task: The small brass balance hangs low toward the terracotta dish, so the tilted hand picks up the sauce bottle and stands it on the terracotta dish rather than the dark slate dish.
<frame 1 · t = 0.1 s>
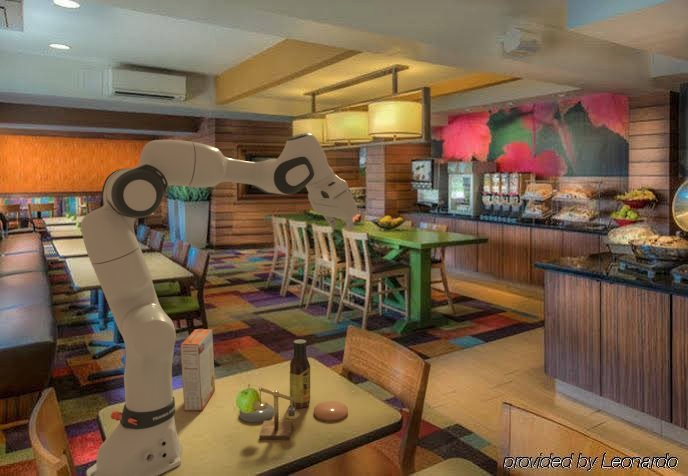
hand: (342, 227, 153), 54 cm above the table, tool tilted 30°, fingers open, 8 cm apart
cracker box: (199, 401, 163), on the table
terracotta dish: (330, 412, 155), on the table
brass balance: (276, 432, 144), on the table
slate dish: (257, 414, 154), on the table
sauce bottle: (300, 404, 161), on the table
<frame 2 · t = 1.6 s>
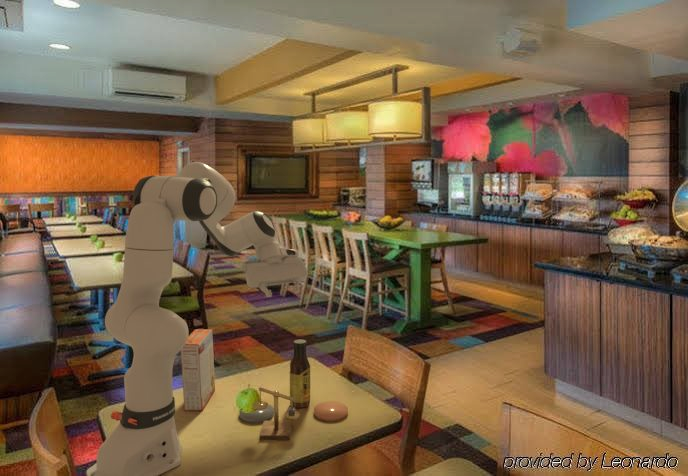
hand: (283, 294, 166), 32 cm above the table, tool tilted 45°, fingers open, 8 cm apart
nothing on the table moved.
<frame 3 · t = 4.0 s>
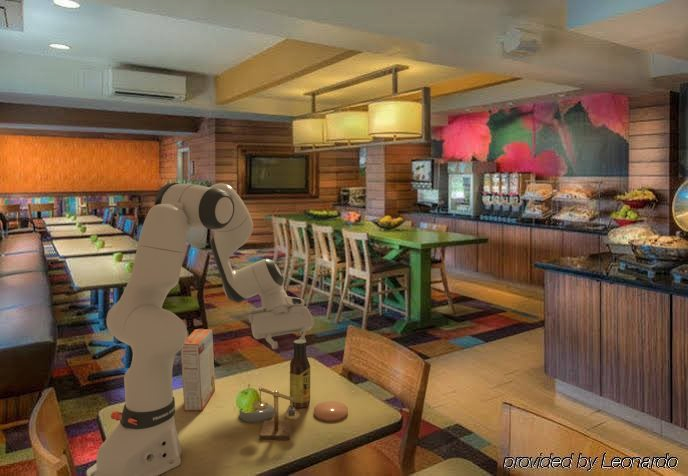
hand: (289, 345, 164), 16 cm above the table, tool tilted 45°, fingers open, 8 cm apart
nothing on the table moved.
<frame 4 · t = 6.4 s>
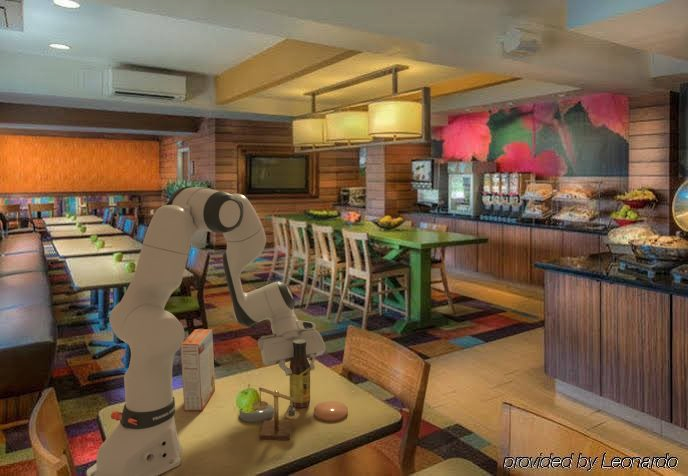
hand: (300, 372, 159), 10 cm above the table, tool tilted 45°, fingers closed on sauce bottle, 6 cm apart
sauce bottle: (300, 404, 161), on the table, touching gripper
everything else where it was.
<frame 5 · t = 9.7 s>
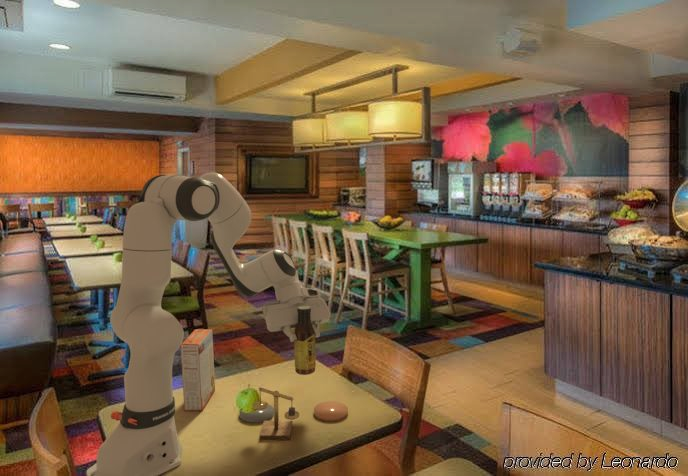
hand: (305, 338, 156), 21 cm above the table, tool tilted 45°, fingers closed on sauce bottle, 6 cm apart
sauce bottle: (305, 372, 158), point 11 cm above the table, touching gripper
everything else where it was.
when the fingers open (13 cm above the table, at t = 13.2 s): sauce bottle stays where it is, resting on terracotta dish.
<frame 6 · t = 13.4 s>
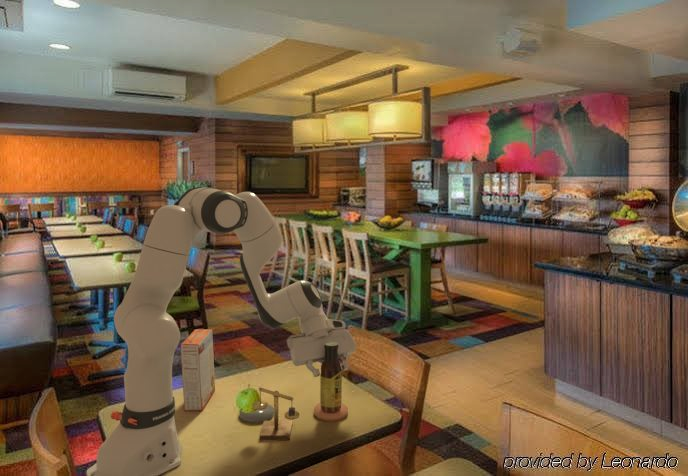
hand: (331, 372, 153), 13 cm above the table, tool tilted 45°, fingers open, 8 cm apart
sauce bottle: (330, 409, 155), point 1 cm above the table, touching terracotta dish
everything else where it was.
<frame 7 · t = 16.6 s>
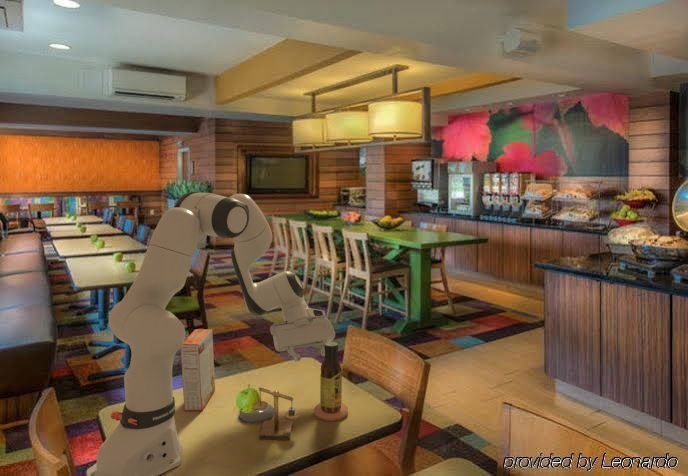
hand: (311, 357, 164), 13 cm above the table, tool tilted 45°, fingers open, 8 cm apart
nothing on the table moved.
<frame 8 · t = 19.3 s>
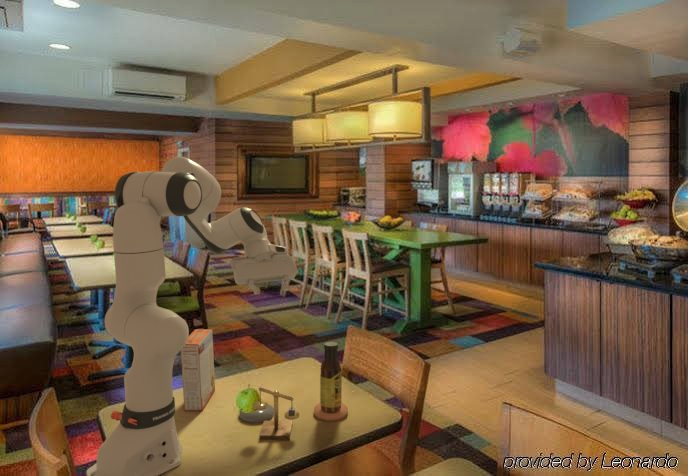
hand: (272, 291, 163), 33 cm above the table, tool tilted 45°, fingers open, 8 cm apart
nothing on the table moved.
at the end: sauce bottle 0.1 cm off-centre on the terracotta dish, point 1.0 cm above the terracotta dish's base; sauce bottle tilted 0°; the gripper is holding nothing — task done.
